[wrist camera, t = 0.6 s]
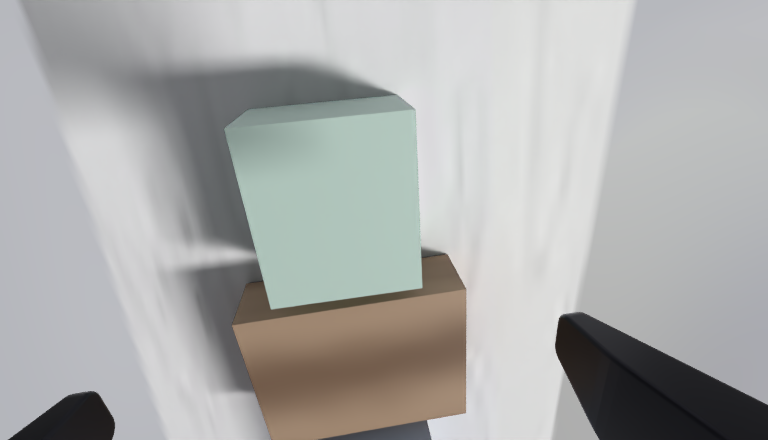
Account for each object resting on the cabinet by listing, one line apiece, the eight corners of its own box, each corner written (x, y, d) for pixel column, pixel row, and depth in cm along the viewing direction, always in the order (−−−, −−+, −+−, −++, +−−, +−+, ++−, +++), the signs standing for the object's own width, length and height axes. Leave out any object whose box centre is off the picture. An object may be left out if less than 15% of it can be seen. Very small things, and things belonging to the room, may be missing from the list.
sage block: (404, 240, 19) (422, 288, 15) (282, 257, 18) (270, 309, 15) (396, 93, 16) (415, 109, 12) (249, 108, 15) (223, 128, 12)
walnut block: (449, 368, 23) (465, 413, 20) (281, 397, 22) (274, 447, 19) (447, 254, 19) (466, 289, 16) (246, 283, 18) (231, 325, 16)
